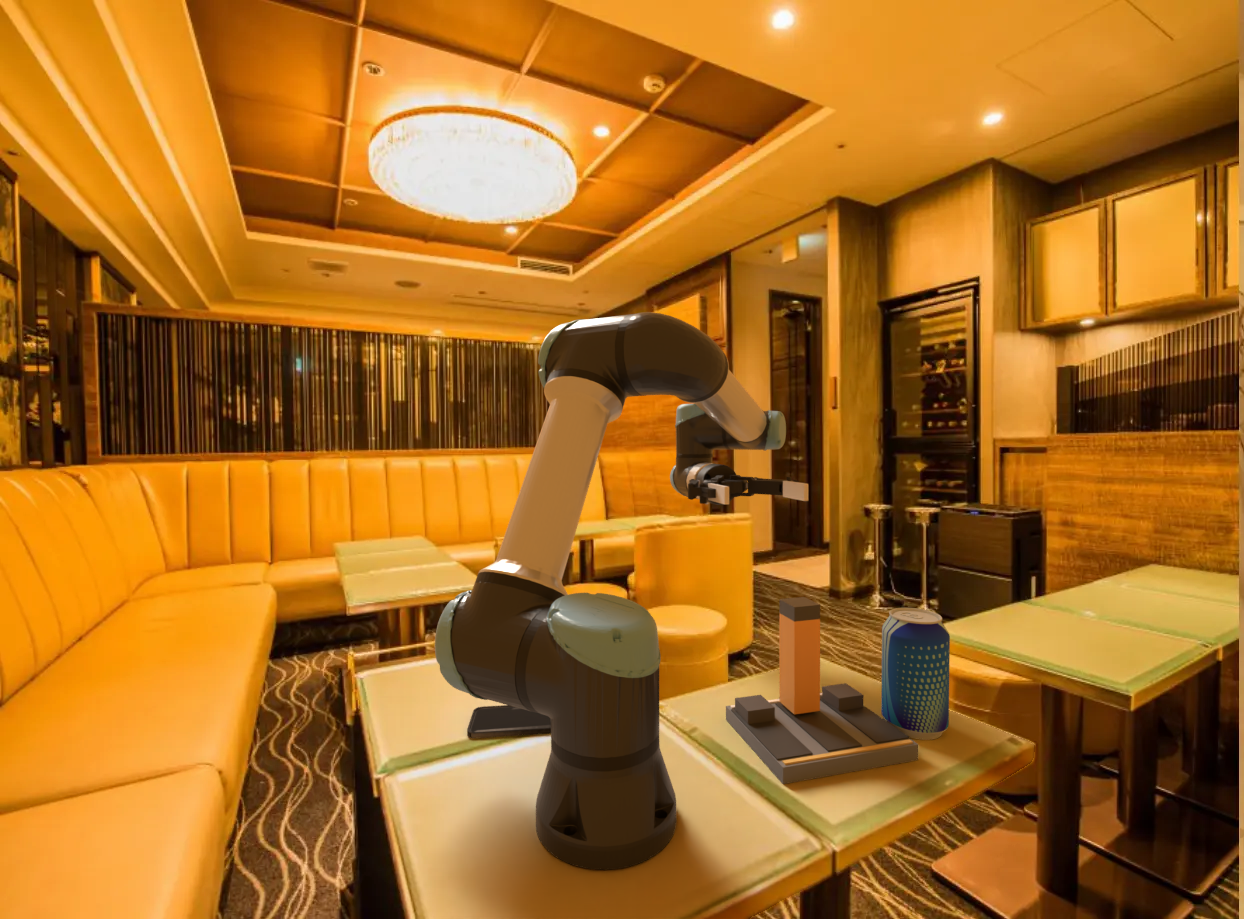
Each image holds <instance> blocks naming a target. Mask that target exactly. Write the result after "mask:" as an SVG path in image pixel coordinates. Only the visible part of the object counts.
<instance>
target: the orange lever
mask: <svg viewBox="0 0 1244 919" xmlns="http://www.w3.org/2000/svg"><path fill="white" fill-rule="evenodd" d="M778 615H779V617H778V618H779V621H778V622H779V632H778V633H779V637H778V638H779V643H778V644H779V655H778V656H779V660H778V661H779V664H778V665H779V668H778V669H779V672H778V674H779V678H778V679H779V682H778V683H779V685H778V686H779V688H778V689H779V695H778V696H779V698H778V699H779V702H781V703H782V704H783V705H784V706H785V707H786V708H787V709H789V710H790V711H791V712H792V713H793V714H801V713H808V712H815V711H820V693H821V604H819V603H818V602H815V601H814V600H811V599H810V598H808V597H805V596H801V597H790V598H780V599H779V614H778Z"/></svg>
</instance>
